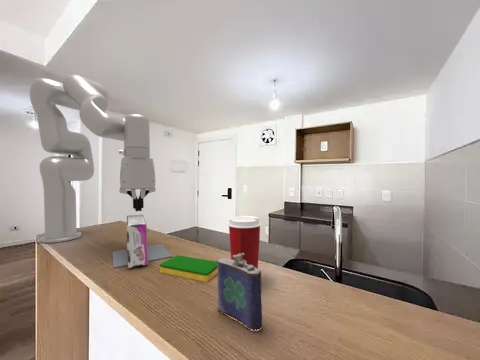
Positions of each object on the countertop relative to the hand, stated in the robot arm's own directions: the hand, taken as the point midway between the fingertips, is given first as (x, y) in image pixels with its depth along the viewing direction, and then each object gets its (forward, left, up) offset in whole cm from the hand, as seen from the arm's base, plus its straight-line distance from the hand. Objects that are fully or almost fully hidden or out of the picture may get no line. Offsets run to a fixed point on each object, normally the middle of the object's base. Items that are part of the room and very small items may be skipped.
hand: (138, 210), depth 72 cm
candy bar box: (0, -1, -7) cm, 7 cm away
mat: (+6, 0, -13) cm, 14 cm away
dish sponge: (+25, +9, -13) cm, 30 cm away
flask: (+47, +10, -13) cm, 50 cm away
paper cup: (+36, +18, -13) cm, 42 cm away
